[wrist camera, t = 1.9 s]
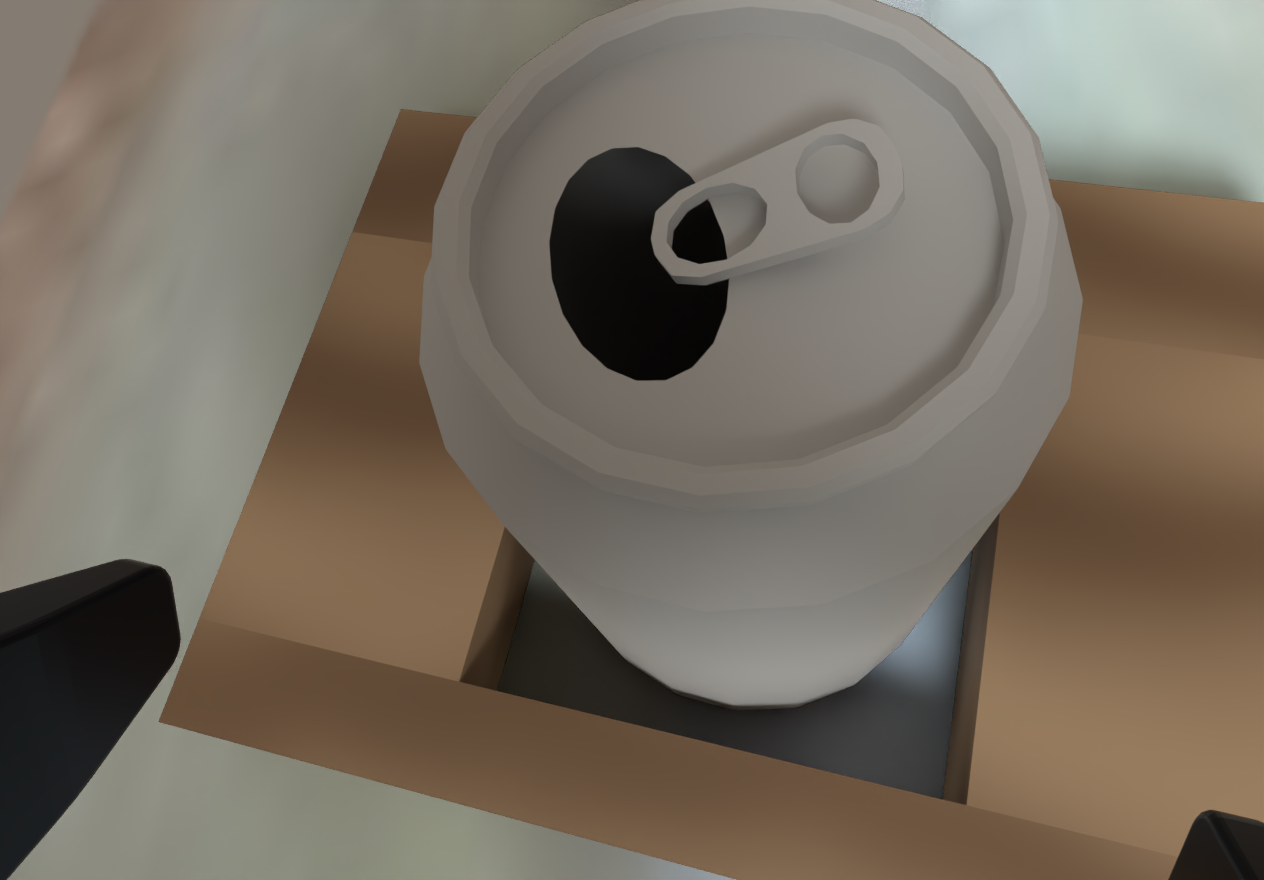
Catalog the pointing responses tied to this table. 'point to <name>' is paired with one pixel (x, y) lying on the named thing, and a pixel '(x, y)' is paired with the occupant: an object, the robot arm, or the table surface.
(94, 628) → the robot arm
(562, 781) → the pocket board
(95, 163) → the table surface
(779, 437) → the can
